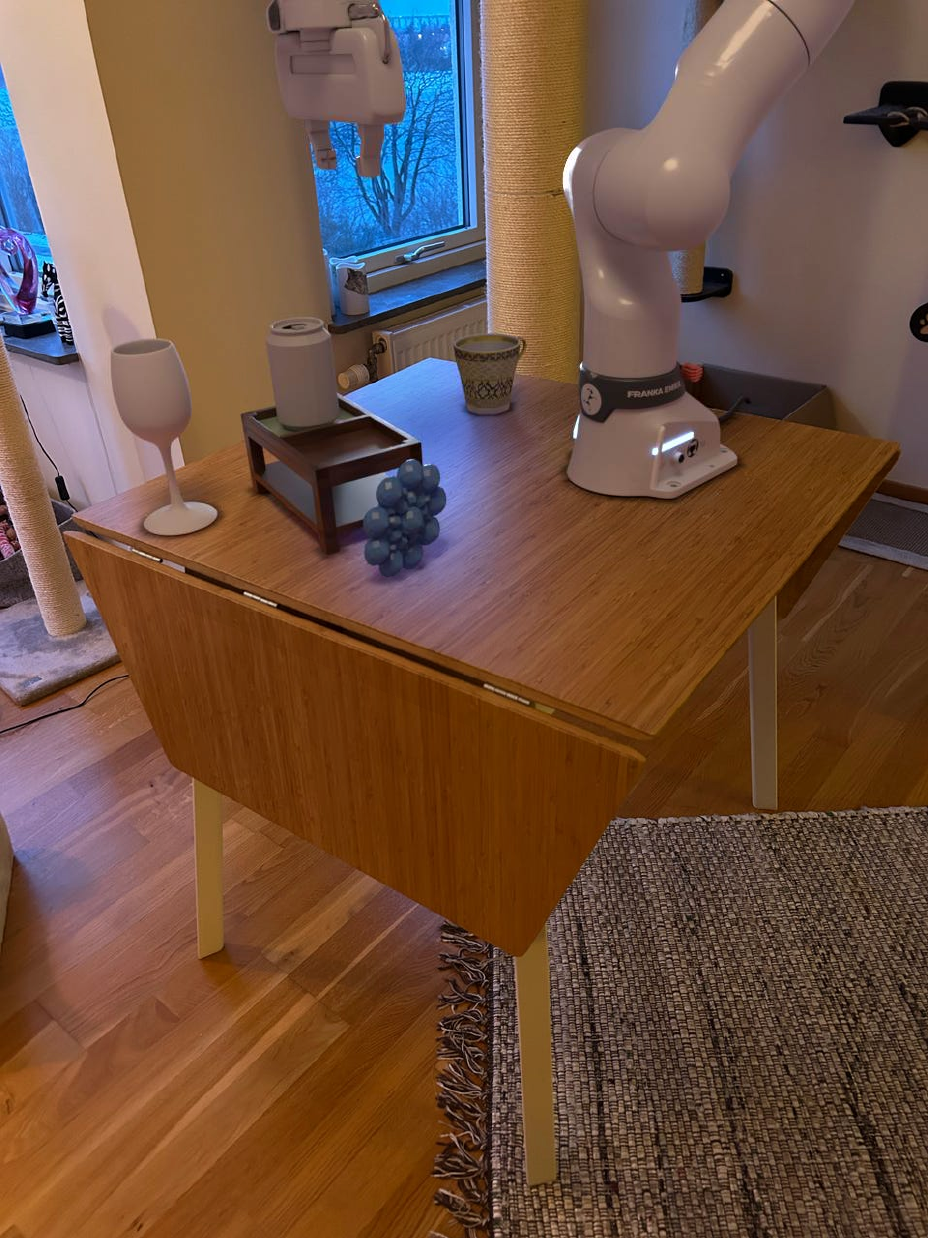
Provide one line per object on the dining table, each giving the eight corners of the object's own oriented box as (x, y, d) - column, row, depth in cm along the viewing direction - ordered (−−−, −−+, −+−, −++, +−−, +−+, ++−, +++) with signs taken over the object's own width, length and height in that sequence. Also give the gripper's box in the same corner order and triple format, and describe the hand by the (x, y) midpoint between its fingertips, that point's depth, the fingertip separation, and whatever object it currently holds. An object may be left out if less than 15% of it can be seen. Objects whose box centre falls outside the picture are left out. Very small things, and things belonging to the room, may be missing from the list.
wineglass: (198, 538, 107) (159, 358, 95) (130, 534, 108) (84, 357, 97) (229, 506, 114) (196, 335, 103) (165, 502, 115) (125, 334, 104)
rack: (344, 465, 124) (335, 390, 118) (427, 523, 108) (421, 439, 102) (253, 489, 118) (239, 412, 112) (326, 555, 102) (315, 468, 96)
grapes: (418, 537, 105) (411, 437, 98) (462, 554, 101) (457, 452, 94) (342, 576, 98) (329, 472, 91) (386, 597, 94) (375, 489, 87)
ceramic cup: (486, 423, 135) (484, 355, 129) (442, 408, 141) (439, 342, 136) (548, 402, 142) (549, 336, 136) (504, 388, 148) (503, 325, 143)
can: (327, 407, 116) (315, 310, 109) (349, 425, 110) (338, 324, 104) (270, 419, 113) (254, 320, 107) (290, 438, 107) (275, 334, 101)
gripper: (417, -1, 78) (427, 178, 86) (316, 10, 93) (332, 162, 100) (351, 1, 75) (367, 185, 83) (258, 12, 90) (278, 167, 98)
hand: (347, 172), depth 92 cm, fingers open, 8 cm apart
